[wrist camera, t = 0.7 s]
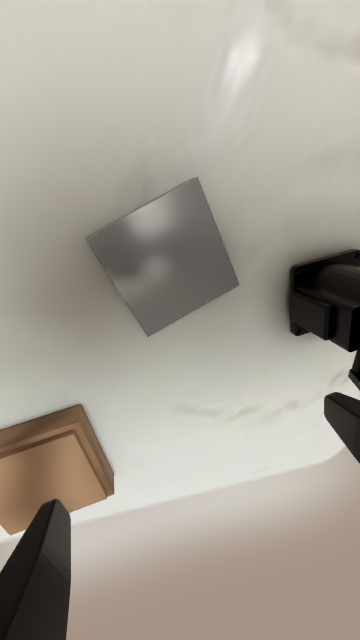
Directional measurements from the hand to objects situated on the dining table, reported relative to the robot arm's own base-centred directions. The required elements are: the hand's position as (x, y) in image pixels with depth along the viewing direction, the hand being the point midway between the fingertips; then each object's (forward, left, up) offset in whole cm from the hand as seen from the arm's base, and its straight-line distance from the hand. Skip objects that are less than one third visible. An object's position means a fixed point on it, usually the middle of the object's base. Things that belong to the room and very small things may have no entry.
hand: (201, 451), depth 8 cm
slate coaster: (-2, -3, -13) cm, 13 cm away
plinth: (+12, +11, -13) cm, 20 cm away
